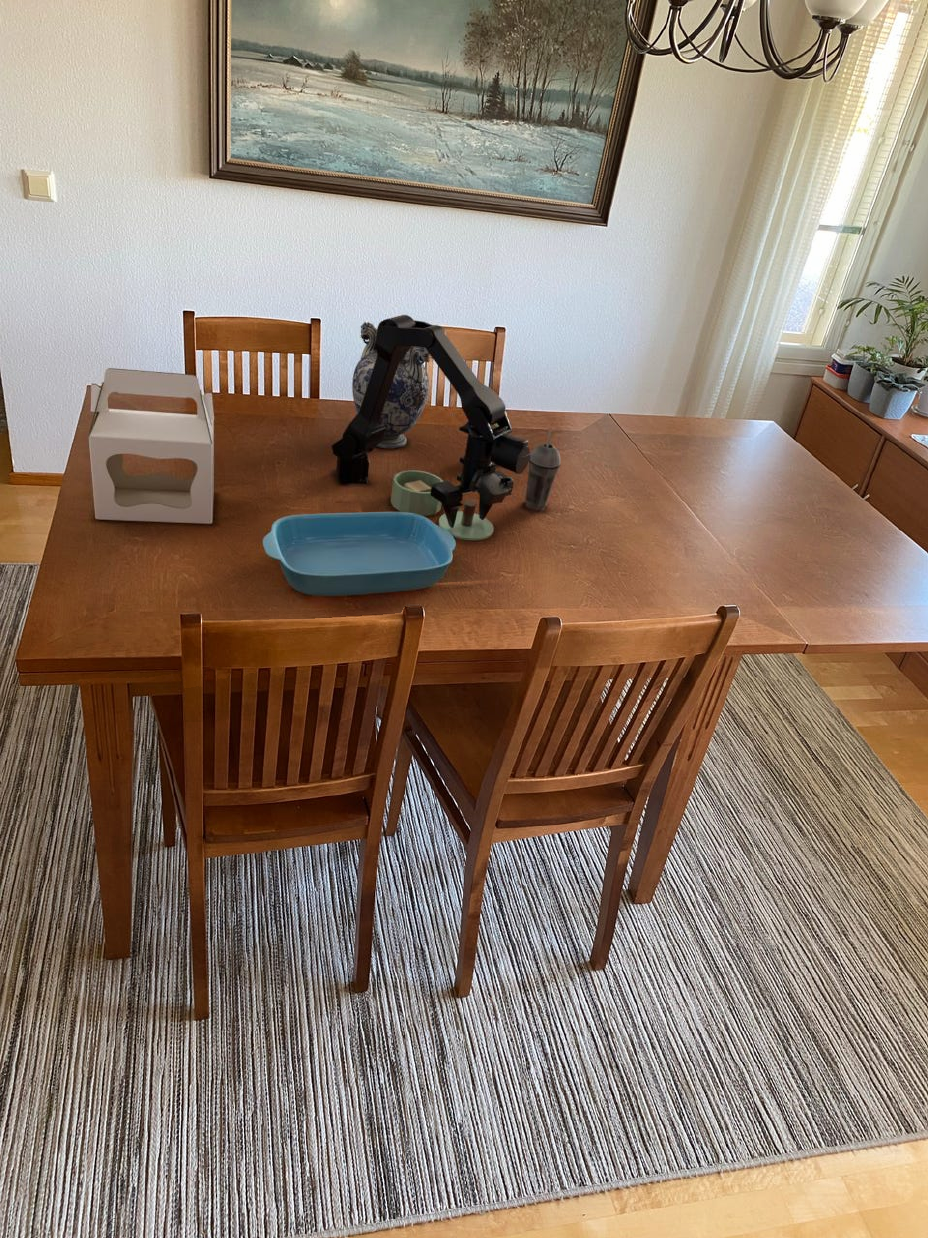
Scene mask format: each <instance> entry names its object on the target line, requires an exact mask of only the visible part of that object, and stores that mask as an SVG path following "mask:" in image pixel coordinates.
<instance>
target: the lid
mask: <svg viewBox="0 0 928 1238" xmlns="http://www.w3.org/2000/svg"><path fill="white" fill-rule="evenodd" d="M476 505H477V504H476V503H475V502H474V501H471V500H466V501H464V503H463V508H462V510H458V511H457V516H456V521H455V524H454V527H453V528H451V527H450V526H449V524H448V521H447V518H446V514H445V513H443V514H441V516H440V517H439V518H438V526H440V527H442V528H444V529H446V530H447V531H448V532H449V533H450V534H451V535H452V536H453V538H456V539H459V540H464V541H482V540H483V541H484V540H486V539H488V538H490V537H491V536H492V535H493V534H494V527H495V526H494V525H493V523H492V521H490V520H489V519H488V518H486V517H485V519H484V520H481V519H480V518H479V513H475V511H476Z"/></svg>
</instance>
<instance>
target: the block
mask: <svg viewBox="0 0 928 1238" xmlns="http://www.w3.org/2000/svg"><path fill="white" fill-rule="evenodd" d="M404 488H406V489H409V490H412V491H417V492H431V487H429V486H428V485H426V484H425V483H423V482H422V481H421V480H419V481H414V482H409V483H405V484H404Z"/></svg>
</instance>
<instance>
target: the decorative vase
mask: <svg viewBox="0 0 928 1238" xmlns="http://www.w3.org/2000/svg"><path fill="white" fill-rule="evenodd" d="M376 333H377V328H376V327H375V326H374V324H373V323H371V322H366V321H364V322H363V323H362V324H361V325H360V338H361V340H362V341H363V343H364V344H366V345H365V346H364V348H363V350H362V353H361V355H360V360H358V362H357V364H356V366H355V367H354V371H353V375H352V383H351V387H352V388H351V390H352V398H353V399H352V400H353V404H354V407H355V411H356V415H357V414H358V412H359V410H360V407H361V404H362V400H363V397H364V394H365V391H366V388H367V385H368V382H369V379H370V376H371V373H372V370H373V367H374V364H375V361H376V358H377V350H376V346H375V339H376ZM430 358H431V355H430V354H429V352H428V351H427V350H426V348H424V347H413V346H412V347H411V349H410V350H409V351H408V352H407V353H406V354H405V356H404V357H403V358H402V359H401V360H400V362H399V365H398V368H397V371H396V373H395V376H394V379H393V382H392V385H391V388H390V391H389V394H388V396H387V399H386V402H385V405H384V408H383V411H382V414H381V417H380V420H381V424H382V426H384V427H386V431H385V433H384V435H383V442H381V443H379V444H378V445H377V446H376V448H381V449H387V450H393V449H399V448H402V447H404V446H405V445H406V444H407V437H406V436H405V435H404V434H406V433H408V432H409V431H410V430H411V429H412V428H413V427H414V426H415V424H416V423H417V422H418V420H419V419H420V417H421V415H422V413H423V411H424V409H425V406H426V404H427V400H428V397H429V389H430V380H429V374H428V371H427V369H426V366H425V365H424V364H425V363H430V361H431V359H430Z"/></svg>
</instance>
